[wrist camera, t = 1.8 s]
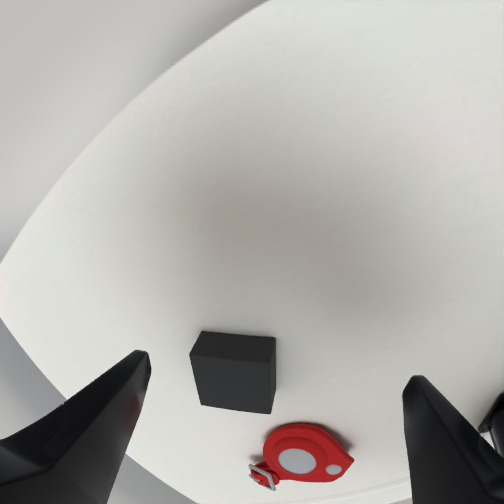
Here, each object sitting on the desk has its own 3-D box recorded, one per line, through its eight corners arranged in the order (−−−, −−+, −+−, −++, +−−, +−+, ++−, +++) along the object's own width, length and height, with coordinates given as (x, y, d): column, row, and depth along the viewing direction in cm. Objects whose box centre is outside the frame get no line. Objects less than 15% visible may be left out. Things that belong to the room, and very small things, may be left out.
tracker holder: (271, 420, 26) (366, 457, 23) (284, 397, 30) (369, 430, 27) (236, 485, 29) (313, 517, 25) (250, 463, 33) (321, 492, 30)
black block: (275, 389, 26) (270, 414, 23) (210, 381, 27) (200, 405, 24) (275, 337, 24) (269, 363, 21) (201, 330, 25) (188, 354, 22)
